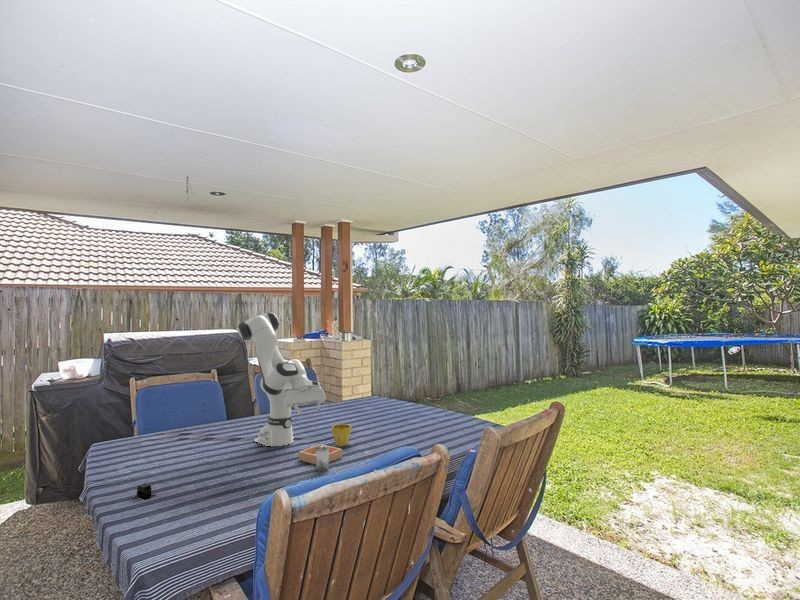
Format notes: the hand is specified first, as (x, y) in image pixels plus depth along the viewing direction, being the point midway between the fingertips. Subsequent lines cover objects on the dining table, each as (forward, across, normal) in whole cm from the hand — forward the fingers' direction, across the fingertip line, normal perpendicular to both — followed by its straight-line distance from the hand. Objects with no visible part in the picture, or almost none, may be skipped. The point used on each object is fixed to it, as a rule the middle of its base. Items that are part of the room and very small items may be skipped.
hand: (309, 411), depth 209 cm
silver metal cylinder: (+26, +1, +8) cm, 27 cm away
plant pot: (+5, +26, +29) cm, 39 cm away
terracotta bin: (+16, +7, +18) cm, 25 cm away
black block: (+17, -68, +17) cm, 72 cm away
